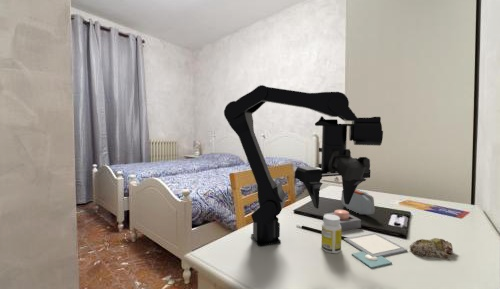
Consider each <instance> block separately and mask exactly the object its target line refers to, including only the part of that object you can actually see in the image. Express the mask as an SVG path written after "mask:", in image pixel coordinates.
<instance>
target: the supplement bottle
mask: <svg viewBox="0 0 500 289" xmlns="http://www.w3.org/2000/svg"><path fill="white" fill-rule="evenodd" d="M322 219H323V220H322V221H323V222H322V224H321V249H322V250H323V251H324V252H326V253H329V254H338V253H340V252H341V251H342V231H341V230H342V228H341V225H340V217H339V216H336V215H332V214H327V215H324V218H322Z"/></svg>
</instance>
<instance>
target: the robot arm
mask: <svg viewBox="0 0 500 289" xmlns="http://www.w3.org/2000/svg"><path fill="white" fill-rule="evenodd" d="M265 103H271V104H278V105H279V104H280V105H283V106H284V105H285V106H290V107H296V108H297V107H298V108H303V109H308V110H311V111H314V112H317V113H319V114H322V115H324V116H328V117H331V118H335V119H330V118H329V119H325V118H324V116H320V118H319V119H318V120H317V121H316V122H315V123H314V126H316V127H319V126H320V127H322V135H321V147H318V153H321V163H318V164H317V166H318V167H313V166H310V165H309V166H308V165H307V166H306V165H305V166H297V167H296V169H295V171H294V178H295V179H297V180H298V181H299V182H301V183H303V185H304V187H305V188H306V190H307V192H308V195H309V197H310V199H311V203H312V204H313V207H314V208H315V209H319V205H320V189H321V186H322V185H323V182H320V181H321V180H322V179H323V178H325V177H338V176H341V183H342V190H343V195H344V202H345V204H347V205H349V203H350V201H351V198H352V196H353V194H354V191H355V189H357V188H358V186H359V185H360V184H362V183H363V182H366V180H367V179H370V178H371V160H370V158H369V157H366V156H359V157H358V158H357V157H352V155H351V154H352V152H351V149H350V148H347V139H348V140H349V142H350V141H351V142H353V145H355V146H379V147H380V146H381V145H382V143H383V137H384V131H383V126H382V125H383V124H382V121H381V120H382V119H381V116H371V117H357V116H356V114H355V112H353V110H352V109H351V108H350V106H349V105H350V101H349V98H348V97H347V96H346V94H345V93H343V92H339V91H321V92H304V91H299V90H298V91H297V90H291V89H285V88H284V89H283V88H279V87H269V86H266V85H264V84H262V85H261V84H260V85H258V86H256V87H255V88H254V89H252V90H251V91H249V92H247V93H246V94H244V95H242V96H240V97H239V98H237V100H233V101H230V102H228V103H227V104H226V105H225V107H224V111H223V115H224V118H225V120H226V121H227V123H228V124H229V126H230V128H231V129H232V130H233V131H234V133H235V134H236V135H237V137H238V139H239V141H240V143H241V146H242V149H243V151H244V154H245V157H246V159H247V161H248V164H249V167H250V169H251V170H250V171H251V172H252V174H253V177H254V180H255V183H256V185H257V186H256V187H257V188H256V189H257V200H258V204H259V205H257V207H256V209H255V210H254V211H253V212H252V213H251V219H252V233H251V234H250V237H251V238H252V240H253V241H254V242H255V243H256V245H257V246H258V247H264V246H270V245H274V244H280V243H282V242H281V239H280V236H281V235H280V234H281V233H280V231H281V230H280V229H281V228H280V227H281V223H280V222H279V217H278V216H279V215H280V214H281V212H282V210H283V208H284V206H285V204H286V196H287V194H286V192H285V191H284V188H283V184H282V182H281V181H279V182H276V181H275V180H274V179H273V177H272V175H271V173H270V170H269V167H268V164H267V162H266V160H265V157H264V155H263V151H262V149H261V146H260V144H259V142H258V139H257V136H256V133H255V129H254V118H253V114H254V113H255V112H257V111H258V110H259V109H260V108H261V107H262V106H264V105H265ZM336 118H339V119H340V120H342V121H344V122H351V123H338V121H339V120H338V119H336ZM348 127H349V129H348ZM347 134H348V138H347ZM319 168H320V169H319Z"/></svg>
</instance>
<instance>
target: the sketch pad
mask: <svg viewBox="0 0 500 289" xmlns="http://www.w3.org/2000/svg"><path fill="white" fill-rule="evenodd" d="M343 240H344V241H345V242H347V243H348V244H350V245H351V246H352V247H354V248H356V249H357V250H359V252H362V251H364V252H365V253H367V254H368V255H370V256H372V257H377V256H382V257H387V256H390V255H395V254H401V253H406V252H408V249H407V248H405V247H403V246H401V245H400V244H397V242H396V243H395V242H393V241H391V240H389V239H388V238H386V237H384V236H381V235H380V234H378V233H376V232H372V233H367V234H363V235H356V236H352V237H351V236H350V237H345V238H343Z"/></svg>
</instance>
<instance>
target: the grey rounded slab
mask: <svg viewBox="0 0 500 289" xmlns="http://www.w3.org/2000/svg"><path fill="white" fill-rule="evenodd" d="M374 198H375V197H374V196H372V195H371V194H370V193H368V192H366V191H363V190H360V189H357V188H356V189H355V191H354V194H353V196H352V198H351V201H350V203H349V205H347V204H345V202H344V195H343V189H342V190H341V197H340V201H341V203H342V205H343V206H344V207H345V208H346V209H347V210H348V209H349V210H348V211H350V210H352V211H354V212H356V213H355V214H357V213H359V214H358V215H373V214H374V213H375V199H374ZM352 211H351V212H352ZM354 212H353V213H354Z"/></svg>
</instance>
